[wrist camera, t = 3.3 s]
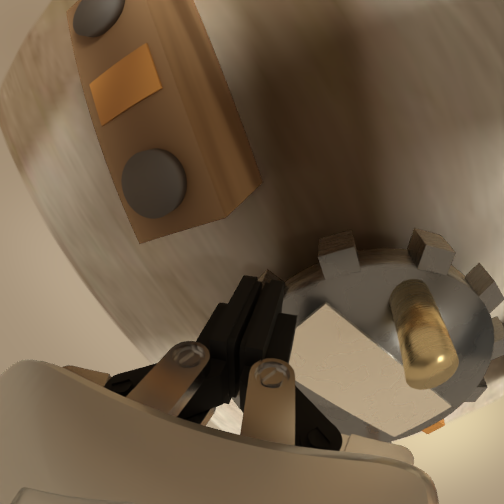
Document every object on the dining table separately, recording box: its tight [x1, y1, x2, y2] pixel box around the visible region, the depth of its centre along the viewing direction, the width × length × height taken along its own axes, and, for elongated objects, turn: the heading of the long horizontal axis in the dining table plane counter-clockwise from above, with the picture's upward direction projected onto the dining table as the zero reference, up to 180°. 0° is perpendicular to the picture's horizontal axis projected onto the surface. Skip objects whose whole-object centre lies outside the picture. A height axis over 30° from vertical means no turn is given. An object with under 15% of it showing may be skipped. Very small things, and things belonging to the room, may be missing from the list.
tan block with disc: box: [66, 0, 263, 244], centre depth 11 cm, size 4×12×7 cm, turn 19°
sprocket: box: [232, 228, 504, 443], centre depth 13 cm, size 18×18×6 cm
